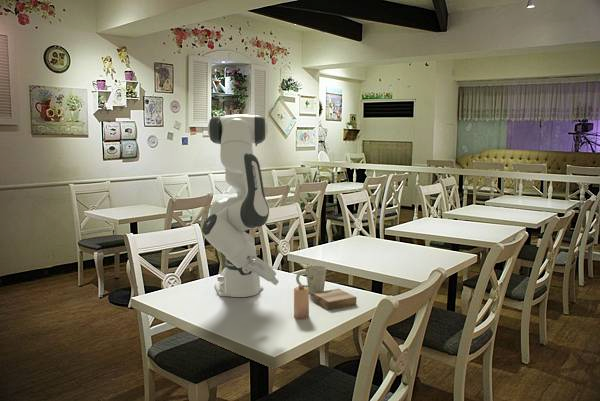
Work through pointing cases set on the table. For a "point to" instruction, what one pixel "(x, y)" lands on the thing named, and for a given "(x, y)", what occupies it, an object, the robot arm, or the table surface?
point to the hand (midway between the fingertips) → (270, 279)
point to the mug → (314, 278)
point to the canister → (301, 302)
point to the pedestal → (334, 299)
